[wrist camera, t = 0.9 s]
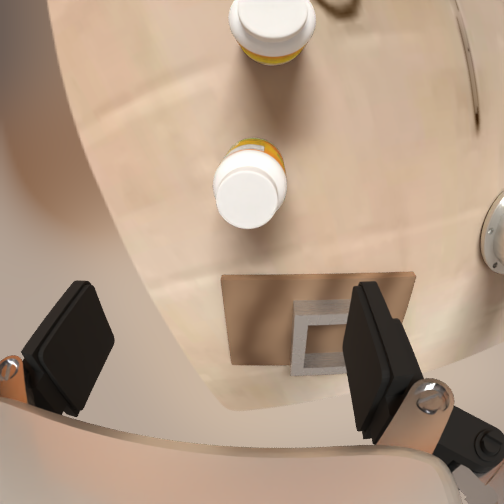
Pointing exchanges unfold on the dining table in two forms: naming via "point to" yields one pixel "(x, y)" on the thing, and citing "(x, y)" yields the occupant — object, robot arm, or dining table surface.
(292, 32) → the supplement bottle
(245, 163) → the supplement bottle
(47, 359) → the robot arm
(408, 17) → the dining table surface
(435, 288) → the dining table surface
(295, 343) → the collar
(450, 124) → the dining table surface
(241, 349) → the board
